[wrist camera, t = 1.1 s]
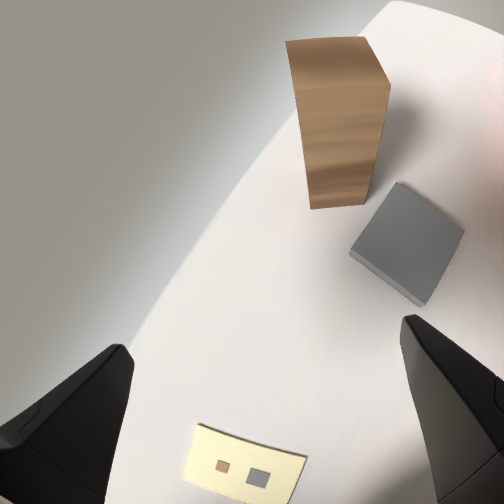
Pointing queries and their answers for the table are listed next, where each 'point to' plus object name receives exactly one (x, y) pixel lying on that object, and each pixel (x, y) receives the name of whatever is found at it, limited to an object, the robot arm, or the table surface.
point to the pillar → (338, 115)
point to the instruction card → (241, 468)
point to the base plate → (408, 244)
